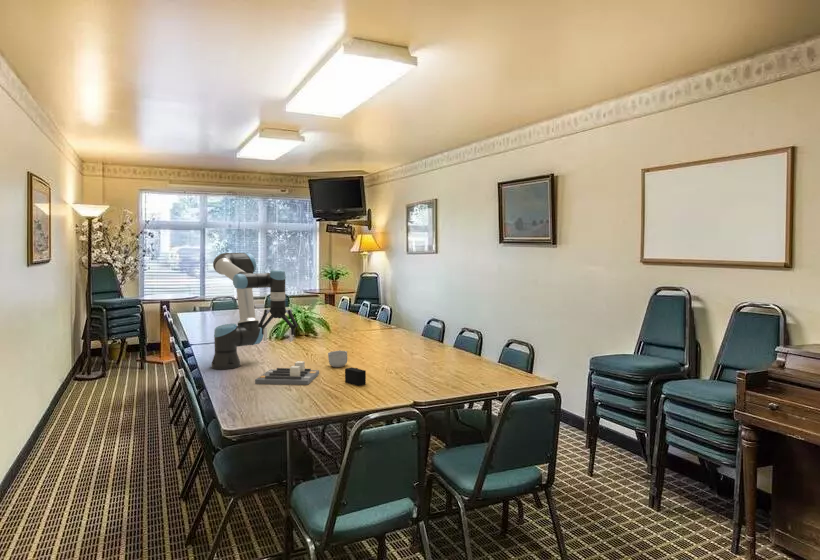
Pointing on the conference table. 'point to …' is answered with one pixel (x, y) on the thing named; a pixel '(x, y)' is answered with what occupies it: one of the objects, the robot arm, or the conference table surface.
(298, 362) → the slider far
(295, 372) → the slider near
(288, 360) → the conference table surface
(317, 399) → the conference table surface
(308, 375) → the switch base
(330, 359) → the teacup
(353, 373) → the digital camera
